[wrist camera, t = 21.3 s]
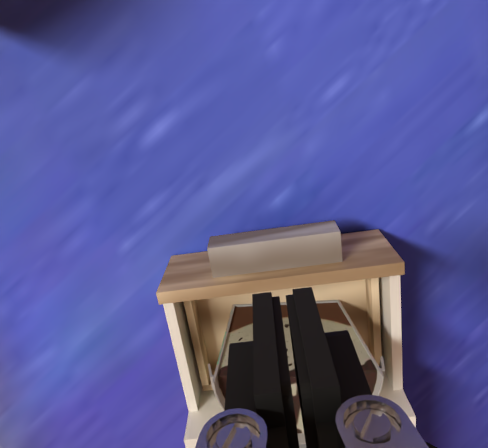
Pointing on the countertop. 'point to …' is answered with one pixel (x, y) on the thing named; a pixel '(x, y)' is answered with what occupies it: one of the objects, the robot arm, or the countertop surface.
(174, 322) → the dock
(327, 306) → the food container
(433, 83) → the countertop surface
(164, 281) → the sliding tray
